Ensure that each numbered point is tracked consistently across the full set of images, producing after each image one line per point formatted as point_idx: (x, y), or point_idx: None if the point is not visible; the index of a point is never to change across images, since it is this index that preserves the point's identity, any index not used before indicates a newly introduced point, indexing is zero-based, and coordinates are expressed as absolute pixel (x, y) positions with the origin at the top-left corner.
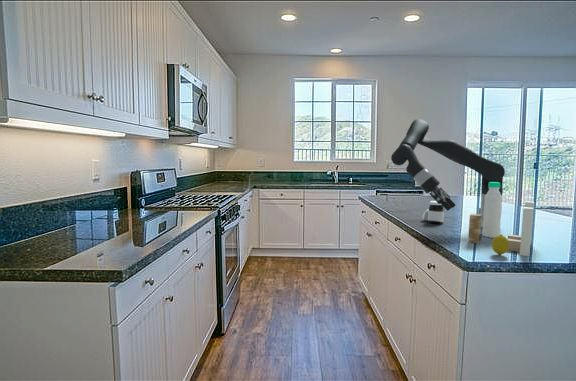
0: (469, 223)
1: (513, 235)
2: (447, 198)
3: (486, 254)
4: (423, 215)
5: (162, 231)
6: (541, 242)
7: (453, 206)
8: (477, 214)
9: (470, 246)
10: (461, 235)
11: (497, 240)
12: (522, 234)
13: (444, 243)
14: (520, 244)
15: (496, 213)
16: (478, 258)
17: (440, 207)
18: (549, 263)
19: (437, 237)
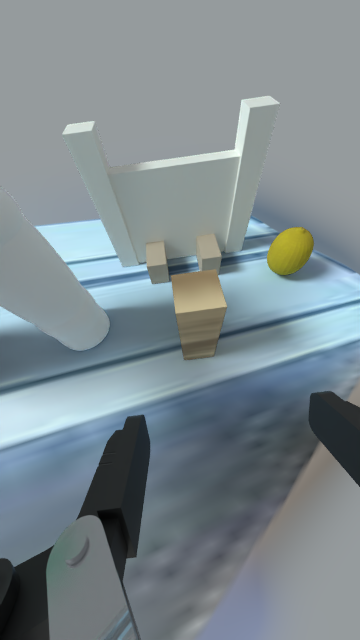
0: (220, 327)
1: (152, 257)
2: (109, 570)
3: (298, 290)
4: None
5: None
6: (96, 247)
7: (146, 432)
8: (182, 287)
9: (255, 337)
10: (122, 406)
11: (313, 242)
12: (252, 204)
13: (294, 414)
14: (246, 230)
15: (63, 261)
16: (351, 292)
17: None
18: (254, 218)
19: (223, 481)
